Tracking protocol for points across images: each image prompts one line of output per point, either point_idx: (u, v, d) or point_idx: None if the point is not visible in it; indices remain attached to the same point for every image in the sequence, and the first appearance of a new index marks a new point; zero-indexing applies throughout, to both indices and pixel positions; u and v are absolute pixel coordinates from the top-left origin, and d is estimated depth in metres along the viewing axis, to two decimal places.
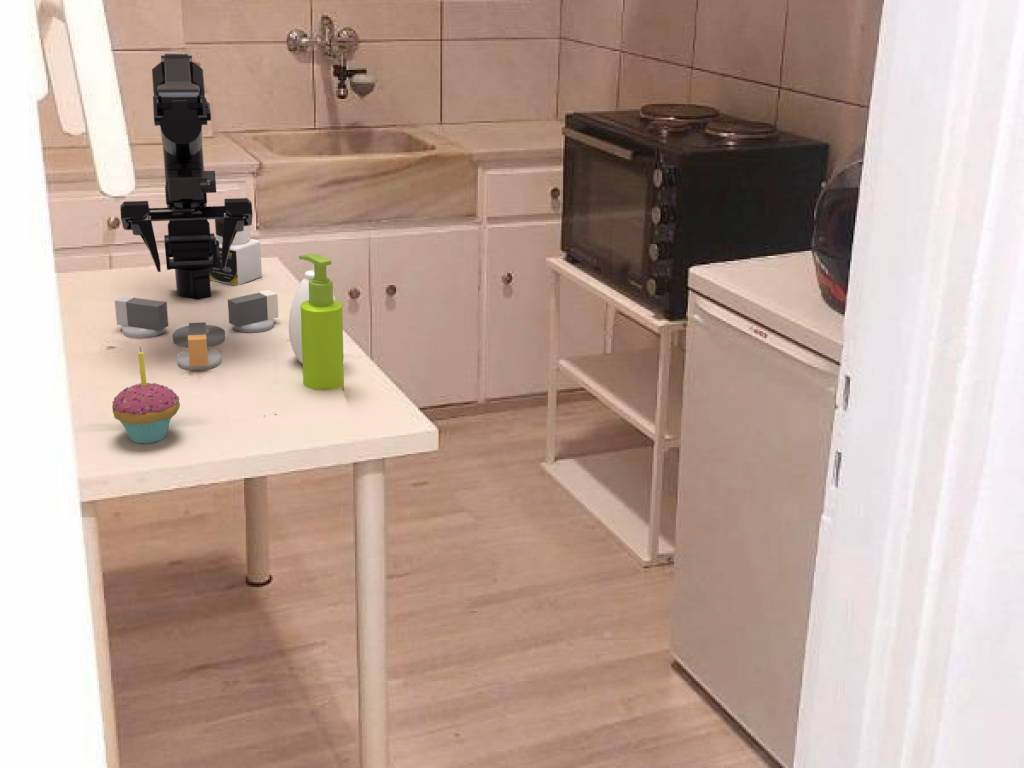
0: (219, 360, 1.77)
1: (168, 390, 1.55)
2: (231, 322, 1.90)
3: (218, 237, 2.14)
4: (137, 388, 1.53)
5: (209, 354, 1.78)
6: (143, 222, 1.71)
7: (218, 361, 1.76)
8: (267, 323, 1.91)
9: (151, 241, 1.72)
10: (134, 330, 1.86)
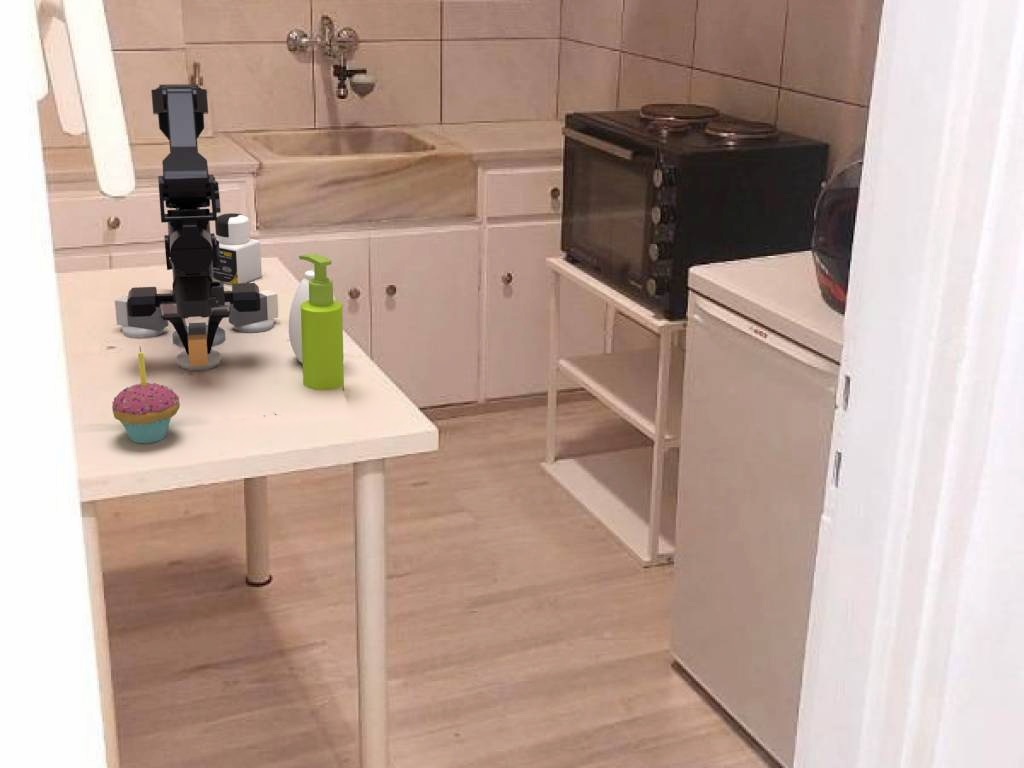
0: (219, 360, 1.77)
1: (168, 390, 1.55)
2: (231, 322, 1.90)
3: (218, 237, 2.14)
4: (137, 388, 1.53)
5: (209, 354, 1.78)
6: (173, 319, 1.71)
7: (218, 361, 1.76)
8: (267, 323, 1.91)
9: (181, 331, 1.73)
10: (134, 330, 1.86)
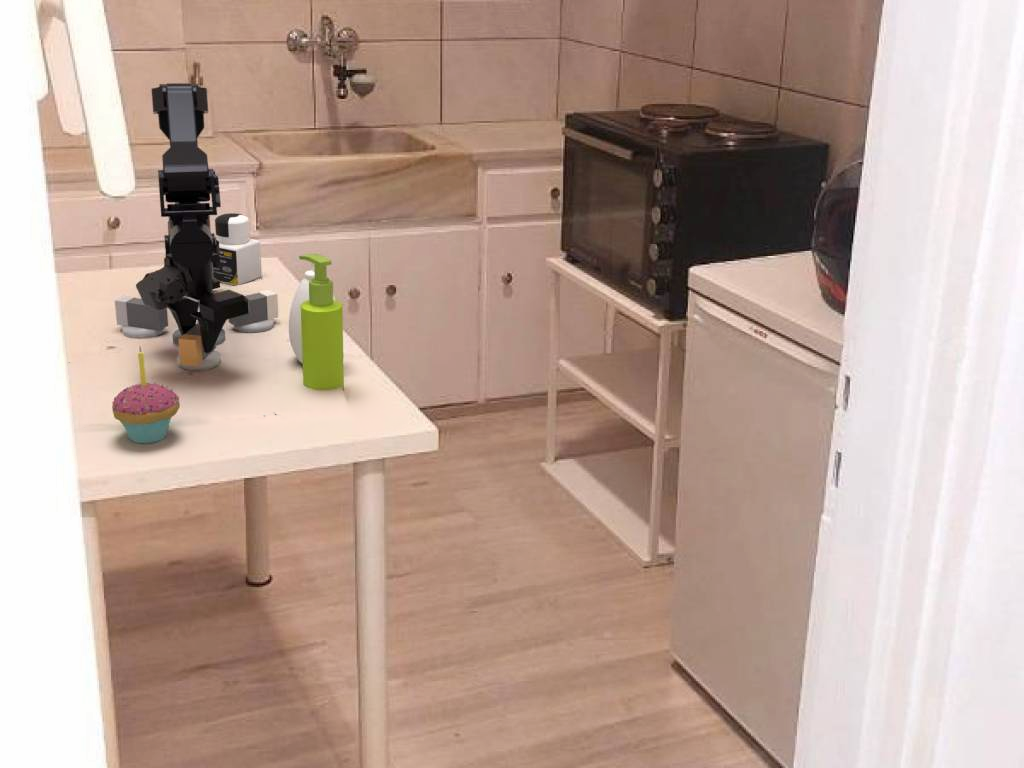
0: (215, 363, 1.76)
1: (168, 390, 1.55)
2: (231, 322, 1.90)
3: (218, 237, 2.14)
4: (137, 388, 1.53)
5: (209, 355, 1.77)
6: None
7: (213, 364, 1.75)
8: (267, 323, 1.91)
9: (176, 318, 1.76)
10: (134, 330, 1.86)
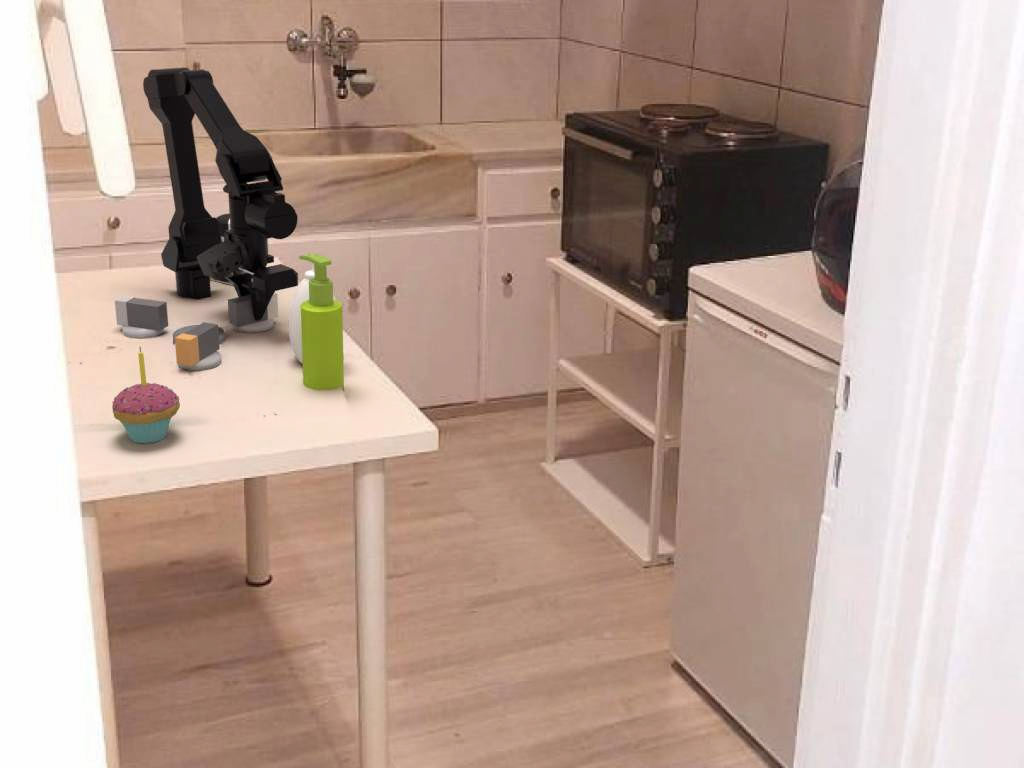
0: (212, 364, 1.75)
1: (168, 390, 1.55)
2: (231, 322, 1.90)
3: None
4: (137, 388, 1.53)
5: (209, 356, 1.77)
6: (225, 277, 1.90)
7: (210, 365, 1.75)
8: (267, 323, 1.91)
9: (237, 291, 1.91)
10: (134, 330, 1.86)
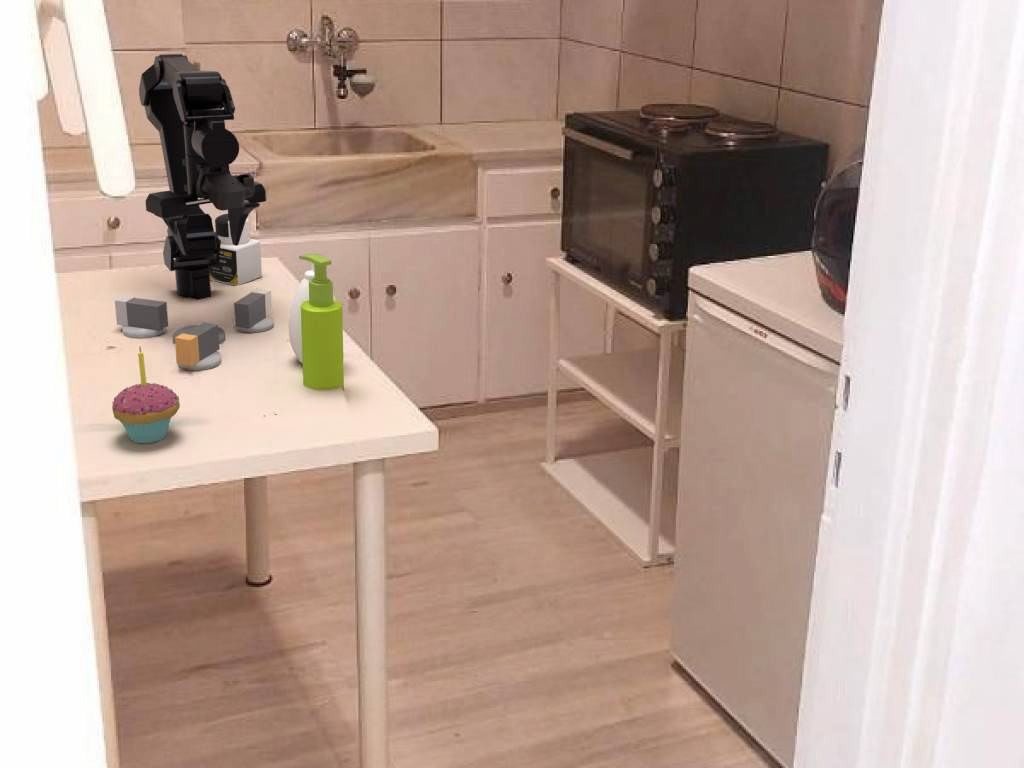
0: (212, 364, 1.75)
1: (168, 390, 1.55)
2: (239, 325, 1.89)
3: (218, 237, 2.14)
4: (137, 388, 1.53)
5: (209, 356, 1.77)
6: (181, 219, 1.82)
7: (210, 365, 1.75)
8: (271, 320, 1.92)
9: (183, 231, 1.85)
10: (134, 330, 1.86)
